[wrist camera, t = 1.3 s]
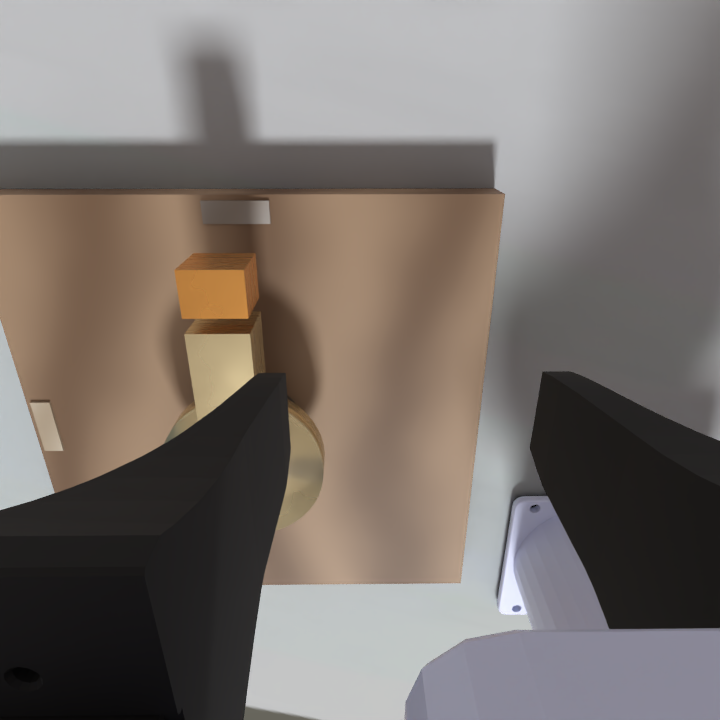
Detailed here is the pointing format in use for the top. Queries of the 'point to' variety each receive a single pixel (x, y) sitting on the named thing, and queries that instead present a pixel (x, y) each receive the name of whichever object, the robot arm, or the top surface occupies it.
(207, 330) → the lever handle
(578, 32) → the top surface
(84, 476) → the board
